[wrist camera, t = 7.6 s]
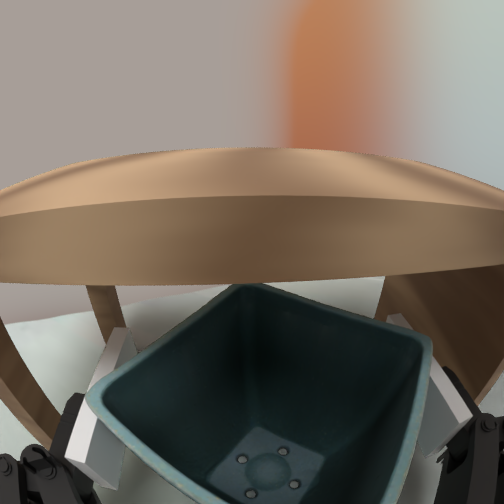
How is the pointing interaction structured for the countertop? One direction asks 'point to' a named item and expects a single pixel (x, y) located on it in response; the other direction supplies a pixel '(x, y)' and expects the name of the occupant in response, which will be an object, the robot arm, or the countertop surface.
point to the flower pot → (273, 401)
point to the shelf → (262, 243)
